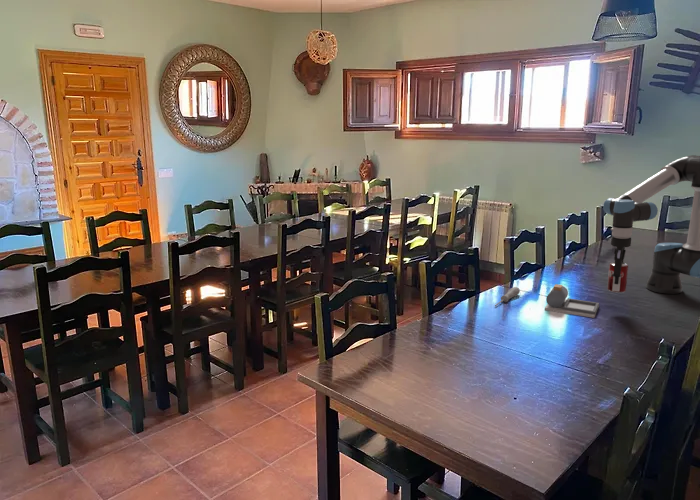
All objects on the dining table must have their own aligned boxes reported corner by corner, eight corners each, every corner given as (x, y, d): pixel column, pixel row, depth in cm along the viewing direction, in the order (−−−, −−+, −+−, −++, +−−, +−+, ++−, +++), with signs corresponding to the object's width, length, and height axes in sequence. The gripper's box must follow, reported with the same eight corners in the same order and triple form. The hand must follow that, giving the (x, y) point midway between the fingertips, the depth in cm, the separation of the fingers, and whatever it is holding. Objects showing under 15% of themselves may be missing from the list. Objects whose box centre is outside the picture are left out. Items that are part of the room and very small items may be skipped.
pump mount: (598, 306, 231) (601, 286, 229) (594, 317, 218) (596, 296, 216) (551, 299, 241) (553, 280, 239) (544, 309, 228) (546, 289, 226)
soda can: (618, 294, 220) (621, 267, 217) (603, 289, 226) (605, 263, 223) (629, 291, 223) (632, 264, 220) (614, 286, 229) (616, 260, 226)
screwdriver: (490, 310, 234) (489, 301, 233) (513, 293, 252) (511, 285, 252) (500, 310, 231) (498, 301, 230) (522, 293, 249) (520, 285, 248)
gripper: (614, 231, 229) (609, 280, 234) (608, 240, 212) (604, 293, 218) (633, 232, 225) (628, 282, 231) (629, 242, 208) (624, 296, 214)
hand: (616, 288), depth 224 cm, fingers closed on soda can, 7 cm apart
